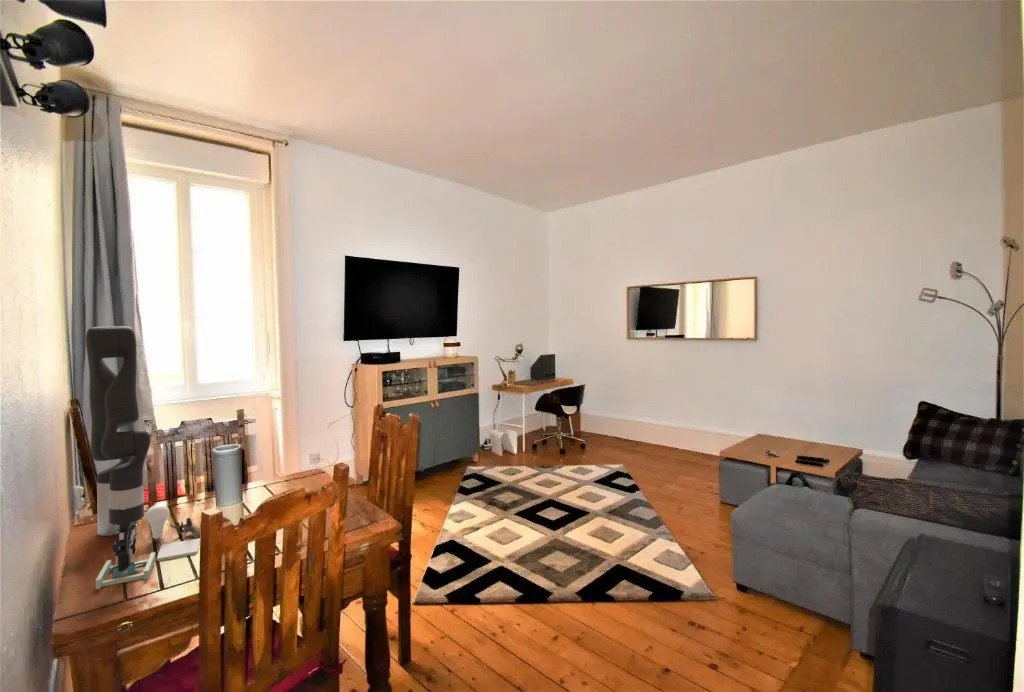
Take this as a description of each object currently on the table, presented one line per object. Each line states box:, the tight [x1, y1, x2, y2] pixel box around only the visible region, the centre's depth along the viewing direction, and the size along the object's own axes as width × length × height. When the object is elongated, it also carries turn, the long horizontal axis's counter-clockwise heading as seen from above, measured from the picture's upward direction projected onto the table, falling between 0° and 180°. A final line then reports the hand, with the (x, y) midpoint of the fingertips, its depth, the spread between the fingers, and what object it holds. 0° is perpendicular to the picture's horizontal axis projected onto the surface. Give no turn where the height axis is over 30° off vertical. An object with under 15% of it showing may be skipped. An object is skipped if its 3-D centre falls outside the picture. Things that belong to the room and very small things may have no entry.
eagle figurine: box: [169, 517, 201, 540], centre depth 155 cm, size 8×7×9 cm
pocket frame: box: [95, 551, 156, 590], centre depth 131 cm, size 12×11×2 cm
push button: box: [110, 538, 143, 579], centre depth 131 cm, size 7×5×10 cm
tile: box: [156, 538, 201, 562], centre depth 145 cm, size 10×10×1 cm
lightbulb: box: [145, 504, 170, 540], centre depth 153 cm, size 6×6×11 cm
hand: (127, 561), depth 131 cm, fingers open, 8 cm apart
